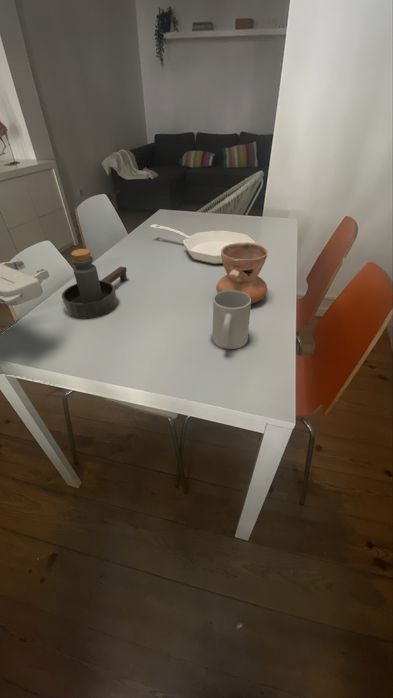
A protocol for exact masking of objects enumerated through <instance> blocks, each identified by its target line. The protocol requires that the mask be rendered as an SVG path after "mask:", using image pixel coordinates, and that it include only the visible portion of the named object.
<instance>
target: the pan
mask: <svg viewBox="0 0 393 698" xmlns="http://www.w3.org/2000/svg"><path fill="white" fill-rule="evenodd" d="M149 227H150V228H152V229H159V230H164V231H170V232H173V233H175V234H178V235H180V236H181V237H185V239H183V240H182V243H183V246H184V248H185V249H186V251H187V252H188V254H189V255H190V256H191V258H192V259H193V260H194V261H197V262H201V263H207V264H211V265H223V261H222V257H221V250H222V248H223V247H225V246H226V245H229V244H233V243H239V242H240V243H247V242H248V243H254V244H257V243H256V241H254V239H252V238H251V237H250V236H249V235H248V234H246V233H241V232H237V231H236V232H235V231H229V230H211V231H209V230H208V231H201V232H200V231H199V232H196V233H193V234H192V235H188V234H187V233H185V232H182V231H180V230H178V229H174V228H172V227H169V226H165V225H159V224H156V223H152V224H151V225H150V226H149Z"/></svg>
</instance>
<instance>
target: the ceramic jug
mask: <svg viewBox="0 0 393 698" xmlns="http://www.w3.org/2000/svg"><path fill="white" fill-rule="evenodd" d="M221 257H222V261H223V264H222V265H223V268H224V270H225V272H226V275H224V276H222V277H221V278H220V279H219V280H218V281H217V283H216V288H215V289H216V292H217V293H219V292H222V291H227V290H236V291H241V292H244V293H246V294H247V295H249V296H250V298H251V305H253V304H256V303H259V302H260V301H262V300H263V299H264V298H265V297H266V295H267V293H268V285H267V283H266V281H265V280H264V279H263V278H261V277H260V276H259V275H260V273H261V271H262V269H263V267H264V265H265V263H266V261H267V257H268V250H267V248H265V246H263V245H261V244H257V243H256V244H254V243H248V242H247V243H240V242H239V243H233V244H229V245H226V246H225V247H223V248H222V250H221ZM217 293H216V294H217Z"/></svg>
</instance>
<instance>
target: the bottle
mask: <svg viewBox="0 0 393 698" xmlns="http://www.w3.org/2000/svg"><path fill="white" fill-rule="evenodd" d="M70 255H71V256H72V260H71V261H72V264H73V266H74V267H73V275H74V278H75V282H76V284H77V286H78V289H79V293H80V296H81V300H82V303H91V302H95V301H98V300H101V299H103V296H102V291H101V287H100V282H99V280H100V278H99V274H98V270H97V266H96V264H93V262H94V259H93V256H92V255H91V250H90V249H88V248H78V249H75V250H73V251H71V252H70Z"/></svg>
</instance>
